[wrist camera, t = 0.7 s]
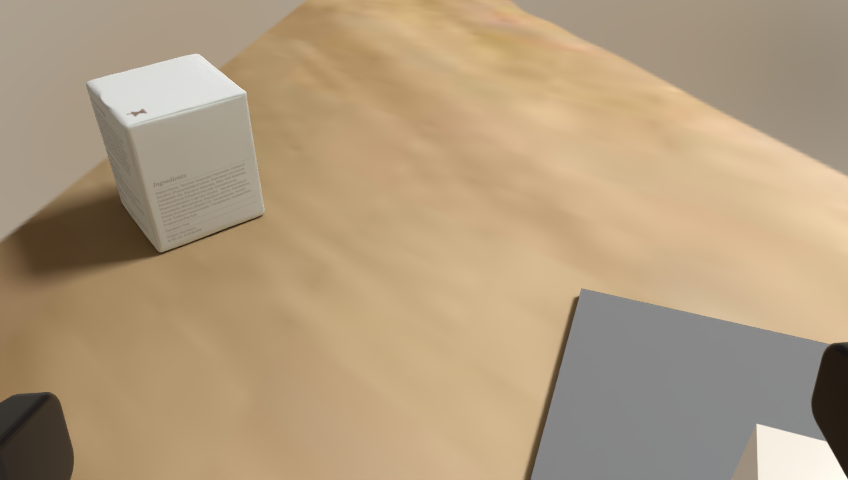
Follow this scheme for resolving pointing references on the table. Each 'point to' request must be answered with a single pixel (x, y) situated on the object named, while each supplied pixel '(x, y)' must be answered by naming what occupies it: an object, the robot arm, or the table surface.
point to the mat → (669, 393)
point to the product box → (179, 148)
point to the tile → (786, 457)
